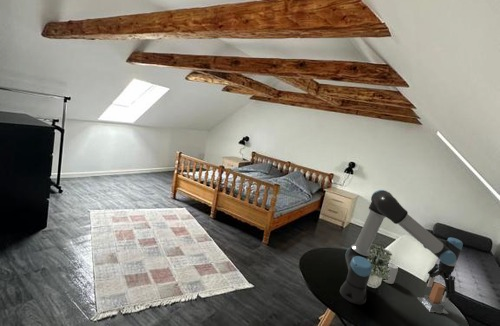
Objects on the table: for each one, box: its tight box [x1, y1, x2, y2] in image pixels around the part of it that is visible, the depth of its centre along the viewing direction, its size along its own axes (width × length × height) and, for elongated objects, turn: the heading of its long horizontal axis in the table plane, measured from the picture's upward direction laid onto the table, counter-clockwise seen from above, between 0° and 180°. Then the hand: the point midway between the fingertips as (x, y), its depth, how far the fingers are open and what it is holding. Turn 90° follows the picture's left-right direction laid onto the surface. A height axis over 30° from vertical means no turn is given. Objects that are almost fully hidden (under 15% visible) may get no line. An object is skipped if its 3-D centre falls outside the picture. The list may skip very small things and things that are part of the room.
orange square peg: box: [429, 282, 446, 303], centre depth 172 cm, size 4×4×14 cm
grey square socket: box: [416, 294, 449, 315], centre depth 173 cm, size 12×12×4 cm
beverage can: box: [382, 262, 399, 285], centre depth 192 cm, size 8×8×12 cm
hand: (436, 293), depth 172 cm, fingers open, 13 cm apart
